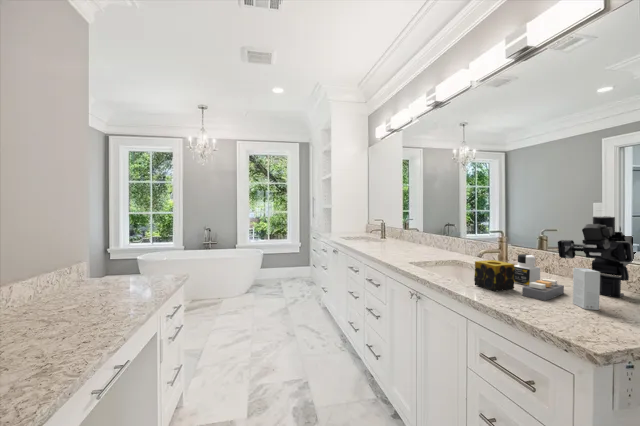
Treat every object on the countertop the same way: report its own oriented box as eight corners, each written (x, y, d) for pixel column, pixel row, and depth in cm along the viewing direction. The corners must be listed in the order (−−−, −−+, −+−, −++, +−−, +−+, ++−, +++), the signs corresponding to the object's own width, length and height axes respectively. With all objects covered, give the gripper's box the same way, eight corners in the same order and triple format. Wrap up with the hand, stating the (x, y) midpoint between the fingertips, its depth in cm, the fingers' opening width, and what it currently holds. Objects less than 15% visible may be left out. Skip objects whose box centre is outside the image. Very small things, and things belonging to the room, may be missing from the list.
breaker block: (541, 289, 116) (541, 281, 116) (563, 293, 110) (563, 285, 110) (522, 295, 107) (522, 287, 107) (545, 300, 101) (545, 292, 101)
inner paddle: (544, 282, 114) (544, 278, 114) (557, 284, 110) (557, 280, 110) (541, 283, 112) (541, 279, 112) (554, 285, 109) (554, 281, 109)
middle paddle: (538, 283, 111) (538, 280, 111) (551, 286, 108) (551, 282, 108) (535, 284, 110) (535, 281, 110) (548, 287, 106) (548, 283, 106)
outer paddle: (532, 285, 108) (532, 281, 108) (545, 288, 105) (545, 284, 105) (529, 286, 107) (529, 282, 107) (542, 289, 104) (542, 285, 104)
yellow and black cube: (492, 283, 125) (492, 259, 125) (515, 289, 115) (515, 264, 115) (473, 285, 122) (473, 260, 122) (494, 291, 112) (495, 265, 112)
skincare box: (599, 310, 92) (601, 271, 92) (584, 309, 93) (584, 271, 93) (586, 304, 98) (587, 268, 98) (571, 303, 99) (572, 267, 99)
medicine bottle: (511, 282, 127) (512, 254, 127) (522, 280, 130) (523, 253, 130) (529, 286, 120) (529, 256, 120) (540, 284, 123) (540, 255, 123)
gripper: (565, 224, 112) (546, 229, 104) (636, 223, 96) (620, 229, 88) (568, 253, 112) (549, 261, 104) (640, 257, 96) (624, 266, 88)
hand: (582, 254), depth 96 cm, fingers open, 9 cm apart
